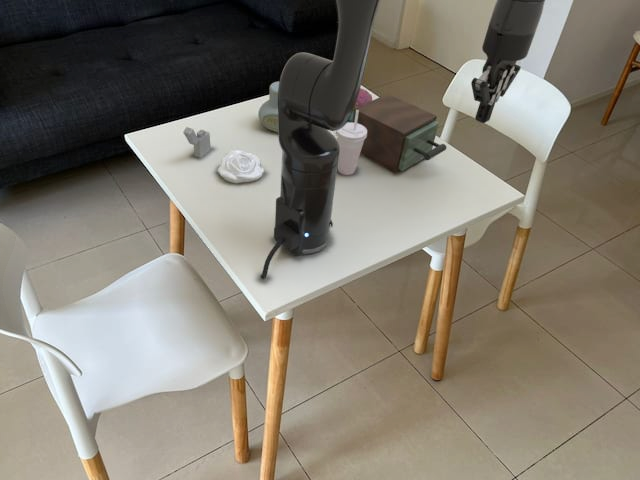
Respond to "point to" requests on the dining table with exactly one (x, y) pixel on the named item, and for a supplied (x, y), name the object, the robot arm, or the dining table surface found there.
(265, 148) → the dining table surface
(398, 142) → the cabinet
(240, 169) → the rose
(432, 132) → the drawer
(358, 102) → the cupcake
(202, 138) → the lighter
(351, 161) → the smoothie
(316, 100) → the robot arm
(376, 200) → the dining table surface
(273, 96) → the air freshener
